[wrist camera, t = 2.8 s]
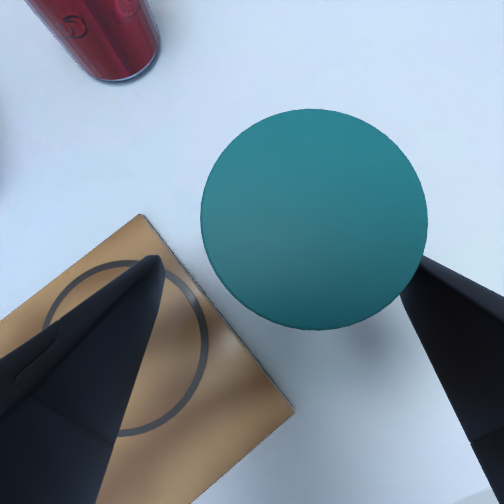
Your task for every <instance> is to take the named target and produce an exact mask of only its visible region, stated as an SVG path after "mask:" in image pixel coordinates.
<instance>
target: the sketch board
mask: <svg viewBox="0 0 504 504" xmlns="http://www.w3.org/2000/svg"><path fill="white" fill-rule="evenodd" d="M147 255H159V256H160V257H161V259H162V262H163V265H164V268H165V271H166V277H165V282H164V287H163V292H162V297H161V302H160V307H159V311H158V314H157V318H156V321H155V324H154V327H153V330H152V333H151V336H150V339H149V342H148V345H147V348H146V351H145V354H144V357H143V360H142V363H141V366H140V369H139V372H138V375H137V378H136V381H135V384H134V387H133V390H132V393H131V396H130V399H129V402H128V405H127V409H126V412H125V415H124V418H123V421H122V424H121V427H120V430H119V433H118V436H117V439H116V442H115V444H114V448H113V452H112V455H111V458H110V461H109V464H108V467H107V470H106V473H105V476H104V479H103V482H102V485H101V488H100V491H99V494H98V497H97V500H96V503H95V504H191V503H192V502H193V501H194V500H195V499H196V498H198V497H199V496H200V495H201V494H202V493H203V492H205V491H206V490H207V489H208V488H209V487H210V486H211V485H213V484H214V483H215V482H216V481H217V480H218V479H219V478H221V477H222V476H223V475H224V474H225V473H226V472H227V471H229V470H230V469H231V468H232V467H233V466H234V465H235V464H237V463H238V462H239V461H240V460H241V459H242V458H243V457H245V456H246V455H247V454H248V453H249V452H250V451H252V450H253V449H254V448H255V447H256V446H257V445H258V444H260V443H261V442H262V441H263V440H264V439H265V438H266V437H268V436H269V435H270V434H271V433H272V432H273V431H274V430H276V429H277V428H278V427H279V426H280V425H281V424H282V423H284V422H285V421H286V420H287V419H288V418H289V417H290V416H292V415H293V414H294V413H295V412H294V409H293V407H292V406H291V404H290V403H289V402H288V400H287V399H286V398H285V397H284V395H283V394H282V393H281V391H280V390H279V389H278V388H277V386H276V385H275V384H274V382H273V381H272V380H271V379H270V377H269V376H268V375H267V373H266V372H265V371H264V370H263V368H262V367H261V366H260V364H259V363H258V362H257V361H256V359H255V358H254V357H253V355H252V354H251V353H250V352H249V350H248V349H247V348H246V346H245V345H244V344H243V343H242V341H241V340H240V339H239V337H238V336H237V335H236V334H235V332H234V331H233V330H232V328H231V327H230V326H229V325H228V323H227V322H226V321H225V319H224V318H223V317H222V316H221V314H220V313H219V312H218V311H217V309H216V308H215V307H214V305H213V304H212V303H211V302H210V300H209V299H208V298H207V296H206V295H205V294H204V293H203V291H202V290H201V289H200V287H199V286H198V285H197V284H196V282H195V281H194V280H193V278H192V277H191V276H190V275H189V273H188V272H187V271H186V269H185V268H184V267H183V266H182V264H181V263H180V262H179V260H178V259H177V258H176V257H175V255H174V254H173V253H172V251H171V250H170V249H169V248H168V246H167V245H166V244H165V242H164V241H163V240H162V239H161V237H160V236H159V235H158V233H157V232H156V231H155V230H154V228H153V227H152V226H151V224H150V223H149V222H148V221H147V219H146V218H145V217H144V215H142V214H138V215H137V216H136V217H134V218H133V219H132V220H130V221H129V222H128V223H127V224H125V225H124V226H123V227H121V228H120V229H119V230H118V231H116V232H115V233H114V234H112V235H111V236H110V237H108V238H107V239H106V240H105V241H103V242H102V243H101V244H99V245H98V246H97V247H96V248H94V249H93V250H92V251H90V252H89V253H88V254H86V255H85V256H84V257H83V258H81V259H80V260H79V261H77V262H76V263H75V264H74V265H72V266H71V267H70V268H68V269H67V270H66V271H64V272H63V273H62V274H61V275H59V276H58V277H57V278H55V279H54V280H53V281H52V282H50V283H49V284H48V285H46V286H45V287H44V288H42V289H41V290H40V291H39V292H37V293H36V294H35V295H33V296H32V297H31V298H30V299H28V300H27V301H26V302H24V303H23V304H22V305H20V306H19V307H18V308H17V309H15V310H14V311H13V312H11V313H10V314H9V315H8V316H6V317H5V318H4V319H2V320H1V321H0V359H1V358H2V357H4V356H5V355H7V354H8V353H10V352H11V351H13V350H15V349H16V348H18V347H19V346H21V345H22V344H24V343H25V342H27V341H28V340H29V339H31V338H32V337H34V336H35V335H37V334H38V333H40V332H41V331H42V330H44V329H45V328H47V327H48V326H49V325H51V324H52V323H54V322H55V321H56V320H59V319H60V318H61V317H62V316H63V315H65V314H66V313H68V312H69V311H70V310H72V309H73V308H75V307H76V306H77V305H79V304H80V303H81V302H83V301H84V300H86V299H87V298H88V297H90V296H91V295H93V294H94V293H95V292H97V291H98V290H100V289H101V288H102V287H104V286H105V285H106V284H108V283H109V282H111V281H112V280H113V279H115V278H116V277H118V276H119V275H120V274H122V273H123V272H125V271H126V270H127V269H129V268H130V267H131V266H133V265H134V264H136V263H137V262H138V261H140V260H141V259H143V258H144V257H145V256H147Z"/></svg>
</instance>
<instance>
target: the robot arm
mask: <svg viewBox="0 0 504 504" xmlns="http://www.w3.org/2000/svg"><path fill="white" fill-rule="evenodd" d="M165 277H166V271H165V268H164V265H163V262H162V259H161V257H160V256H159V255H147V256H145V257H144V258H143V259H141V260H140V261H138V262H137V263H136V264H134V265H133V266H131V267H130V268H129V269H127V270H126V271H125V272H123V273H122V274H120V275H119V276H118V277H116V278H115V279H113V280H112V281H111V282H109V283H108V284H106V285H105V286H104V287H102V288H101V289H100V290H98V291H97V292H95V293H94V294H93V295H91V296H90V297H88V298H87V299H86V300H84V301H83V302H81V303H80V304H79V305H77V306H76V307H75V308H73V309H72V310H70V311H69V312H68V313H66V314H65V315H63V316H62V317H61V318H60V319H59V320H56V321H55V322H54V323H52V324H51V325H49V326H48V327H47V328H45V329H44V330H42V331H41V332H40V333H38V334H37V335H35V336H34V337H32V338H31V339H29V340H28V341H27V342H25V343H24V344H22V345H21V346H19V347H18V348H16V349H15V350H13V351H11V352H10V353H8V354H7V355H5V356H4V357H2V358H1V359H0V504H95V503H96V500H97V497H98V494H99V491H100V488H101V485H102V482H103V479H104V476H105V473H106V470H107V467H108V464H109V461H110V458H111V455H112V452H113V448H114V444H115V442H116V439H117V436H118V433H119V430H120V427H121V424H122V421H123V418H124V415H125V412H126V409H127V405H128V402H129V399H130V396H131V393H132V390H133V387H134V384H135V381H136V378H137V375H138V372H139V369H140V366H141V363H142V360H143V357H144V354H145V351H146V348H147V345H148V342H149V339H150V336H151V333H152V330H153V327H154V324H155V321H156V318H157V314H158V311H159V307H160V302H161V297H162V292H163V287H164V282H165ZM400 297H401V300H402V303H403V305H404V308H405V310H406V312H407V314H408V316H409V319H410V321H411V323H412V325H413V327H414V329H415V331H416V333H417V335H418V337H419V339H420V341H421V343H422V345H423V347H424V349H425V351H426V354H427V356H428V358H429V360H430V362H431V364H432V366H433V368H434V370H435V372H436V374H437V376H438V378H439V380H440V382H441V384H442V386H443V388H444V391H445V393H446V395H447V397H448V399H449V401H450V403H451V405H452V407H453V409H454V411H455V413H456V415H457V417H458V419H459V421H460V423H461V425H462V428H463V430H464V432H465V434H466V436H467V438H468V440H469V442H470V443H471V446H472V449H473V451H474V453H475V455H476V457H477V459H478V461H479V463H480V465H481V467H482V469H483V471H484V473H485V475H486V477H487V479H488V481H489V483H490V486H491V488H492V490H493V492H494V493H495V496H496V498H497V500H498V502H499V504H504V297H503V296H501V295H499V294H497V293H495V292H493V291H491V290H489V289H487V288H486V287H484V286H482V285H480V284H478V283H476V282H474V281H472V280H470V279H468V278H466V277H464V276H462V275H460V274H458V273H457V272H455V271H453V270H451V269H449V268H447V267H445V266H443V265H441V264H439V263H437V262H435V261H433V260H431V259H429V258H428V257H426V256H424V255H422V258H421V260H420V263H419V266H418V268H417V270H416V272H415V273H414V275H413V277H412V279H411V280H410V282H409V283H408V284H407V286H406V287H405V288H404V290H403V291H402V292H401V293H400Z"/></svg>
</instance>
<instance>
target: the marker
mask: <svg viewBox="0 0 504 504" xmlns="http://www.w3.org/2000/svg"><path fill="white" fill-rule="evenodd" d="M200 222H201V234H202V238H203V243H204V247H205V250H206V253H207V256H208V259H209V261H210V263H211V265H212V267H213V269H214V271H215V273H216V275H217V276H218V278H219V279H220V281H221V282H222V283H223V285H224V286H225V287H226V289H227V290H228V291H229V292H230V293H231V294H232V295H233V296H234V297H235V298H236V299H237V300H238V301H239V302H240V303H242V304H243V305H244V306H245V307H246V308H248V309H249V310H251V311H253V312H254V313H256V314H257V315H259V316H261V317H263V318H265V319H267V320H269V321H271V322H273V323H277V324H280V325H283V326H286V327H290V328H296V329H301V330H317V331H320V330H331V329H338V328H342V327H346V326H350V325H353V324H356V323H358V322H361V321H363V320H365V319H367V318H369V317H371V316H373V315H375V314H376V313H378V312H379V311H381V310H382V309H383V308H385V307H386V306H387V305H389V304H390V303H391V302H392V301H393V300H394V299H395V298H396V297H397V296H398V295H399V294H400V293H401V292H402V291H403V290H404V288H405V287H406V286H407V284H408V283H409V282H410V280H411V279H412V277H413V275H414V273H415V272H416V270H417V268H418V266H419V263H420V260H421V258H422V255H423V252H424V248H425V244H426V239H427V228H428V217H427V206H426V201H425V195H424V192H423V189H422V186H421V183H420V181H419V178H418V176H417V174H416V172H415V170H414V168H413V167H412V165H411V163H410V162H409V160H408V159H407V157H406V156H405V155H404V153H403V152H402V151H401V150H400V149H399V147H398V146H397V145H396V144H395V143H394V142H393V141H391V140H390V139H389V138H388V137H387V136H386V135H385V134H383V133H382V132H381V131H379V130H378V129H376V128H375V127H373V126H372V125H370V124H368V123H366V122H364V121H362V120H360V119H358V118H355V117H353V116H350V115H347V114H343V113H340V112H336V111H330V110H323V109H302V110H292V111H288V112H283V113H279V114H276V115H274V116H271V117H268V118H266V119H264V120H262V121H260V122H258V123H256V124H254V125H252V126H251V127H249V128H248V129H246V130H245V131H243V132H242V133H241V134H240V135H239V136H237V137H236V138H235V139H234V140H233V141H232V142H231V143H230V144H229V145H228V146H227V148H226V149H225V150H224V151H223V152H222V154H221V155H220V157H219V158H218V160H217V161H216V163H215V164H214V166H213V168H212V170H211V172H210V174H209V176H208V179H207V182H206V185H205V188H204V192H203V197H202V202H201V214H200Z"/></svg>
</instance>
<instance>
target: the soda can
mask: <svg viewBox="0 0 504 504" xmlns="http://www.w3.org/2000/svg"><path fill="white" fill-rule="evenodd" d="M24 1H25V2H26V3H27V5H28V6H29V7H30V8H31V9H32V11H33V12H34V13H35V14H36V15H37V17H38V18H39V19H40V20H41V21H42V23H43V24H44V25H45V26H46V27H47V29H48V30H49V31H50V32H51V33H52V35H53V36H54V37H55V38H56V39H57V40H58V42H59V43H60V44H61V45H62V46H63V48H64V49H65V50H66V51H67V52H68V54H69V55H70V56H71V57H72V58H73V60H74V61H75V62H76V63H77V64H78V65H79V67H80V68H81V69H82V70H84V71H85V72H86V73H88V74H89V75H91V76H93V77H96V78H98V79H102V80H106V81H124V80H128V79H131V78H133V77H135V76H137V75H139V74H140V73H142V72H143V71H144V70H145V69H146V68H147V67H148V66H149V65H150V64H151V62H152V60H153V59H154V56H155V54H156V51H157V48H158V41H159V35H158V28H157V25H156V22H155V19H154V17H153V14H152V12H151V9H150V7H149V4H148V1H147V0H24Z"/></svg>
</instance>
